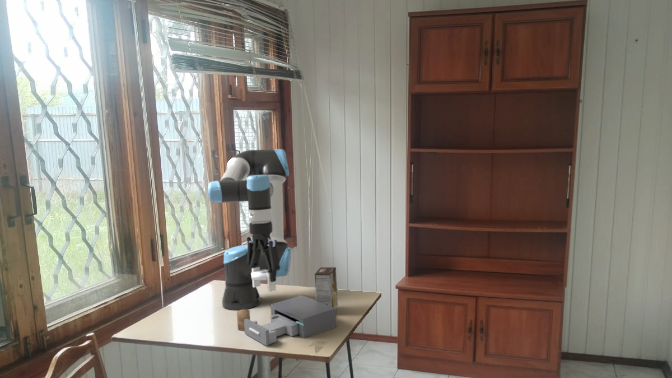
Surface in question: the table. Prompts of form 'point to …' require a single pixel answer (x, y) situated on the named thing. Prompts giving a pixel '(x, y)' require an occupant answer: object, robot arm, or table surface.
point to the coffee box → (326, 286)
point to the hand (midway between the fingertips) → (264, 288)
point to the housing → (307, 314)
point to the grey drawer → (271, 329)
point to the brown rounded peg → (242, 318)
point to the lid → (259, 275)
